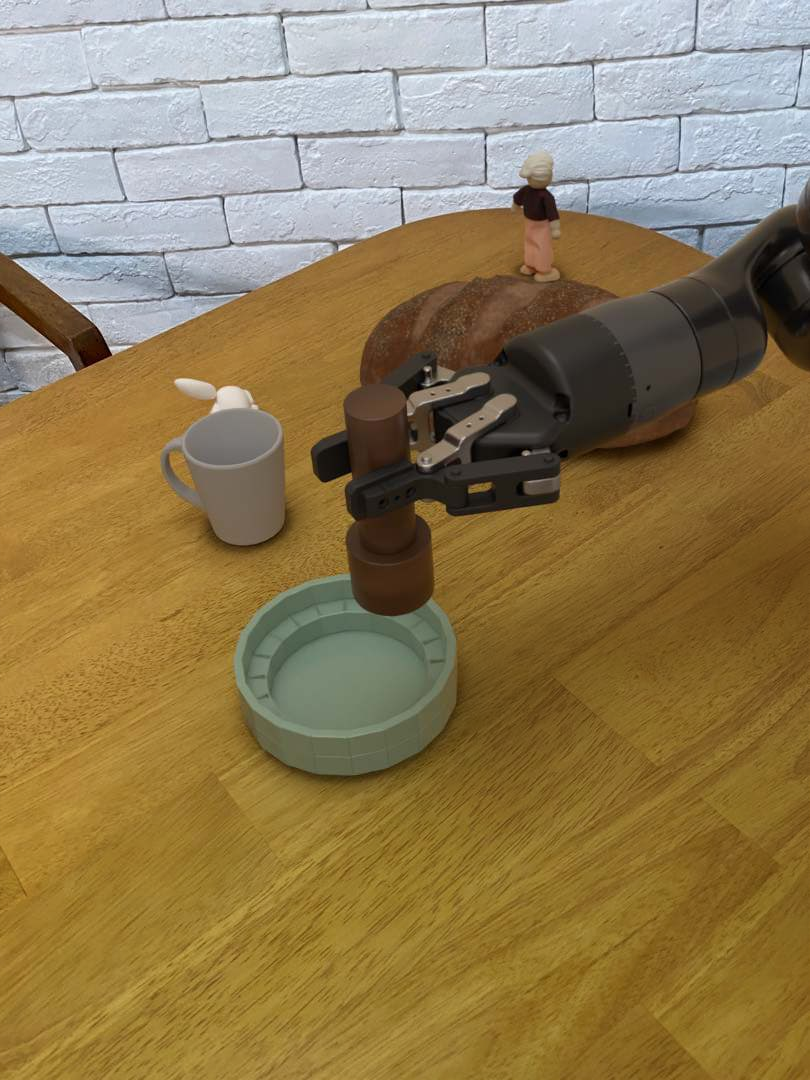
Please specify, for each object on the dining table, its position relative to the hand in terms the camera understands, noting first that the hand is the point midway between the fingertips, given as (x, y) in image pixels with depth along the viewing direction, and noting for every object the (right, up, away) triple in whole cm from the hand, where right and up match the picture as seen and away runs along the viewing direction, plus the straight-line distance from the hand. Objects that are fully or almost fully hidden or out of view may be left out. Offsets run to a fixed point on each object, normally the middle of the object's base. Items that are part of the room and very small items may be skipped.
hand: (333, 484), depth 58 cm
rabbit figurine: (-12, +6, +41) cm, 43 cm away
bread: (+14, +9, +41) cm, 44 cm away
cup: (-10, -2, +31) cm, 33 cm away
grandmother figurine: (+17, +25, +59) cm, 66 cm away
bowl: (0, -13, +17) cm, 21 cm away
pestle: (+3, -6, +7) cm, 9 cm away
